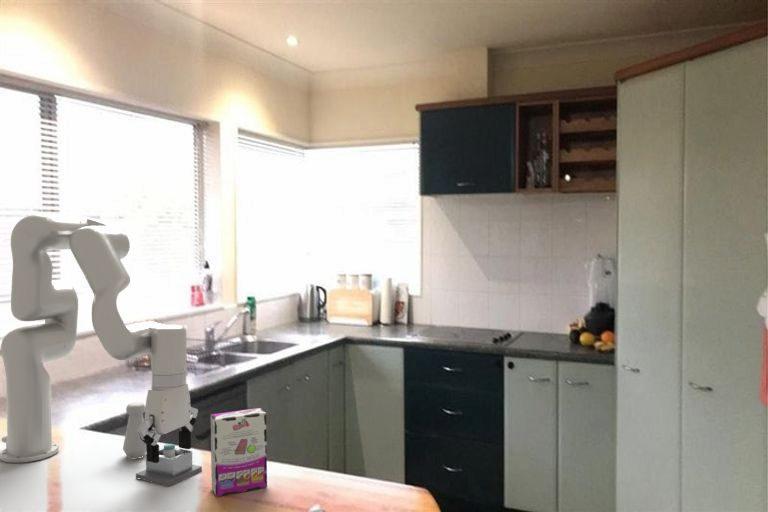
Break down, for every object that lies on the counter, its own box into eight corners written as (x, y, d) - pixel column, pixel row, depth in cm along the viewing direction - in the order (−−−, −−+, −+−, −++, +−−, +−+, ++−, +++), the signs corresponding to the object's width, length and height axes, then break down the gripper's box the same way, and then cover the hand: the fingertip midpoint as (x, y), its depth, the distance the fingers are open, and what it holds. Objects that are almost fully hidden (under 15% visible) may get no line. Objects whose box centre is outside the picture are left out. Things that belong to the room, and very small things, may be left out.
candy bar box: (261, 479, 139) (261, 406, 138) (267, 487, 134) (267, 412, 134) (210, 488, 134) (209, 413, 133) (215, 497, 129) (215, 419, 129)
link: (146, 471, 141) (146, 454, 140) (165, 462, 146) (165, 445, 146) (173, 477, 137) (172, 459, 137) (192, 468, 143) (192, 451, 142)
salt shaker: (139, 461, 150) (139, 407, 149) (118, 459, 151) (117, 406, 150) (153, 452, 155) (152, 401, 155) (132, 451, 156) (132, 399, 156)
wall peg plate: (135, 478, 139) (135, 448, 139) (169, 463, 148) (169, 436, 148) (169, 486, 135) (169, 456, 135) (201, 470, 144) (201, 442, 144)
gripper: (184, 370, 150) (184, 441, 151) (126, 386, 135) (126, 464, 135) (208, 374, 147) (208, 446, 148) (151, 390, 131) (152, 470, 132)
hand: (169, 454), depth 141 cm, fingers open, 9 cm apart
